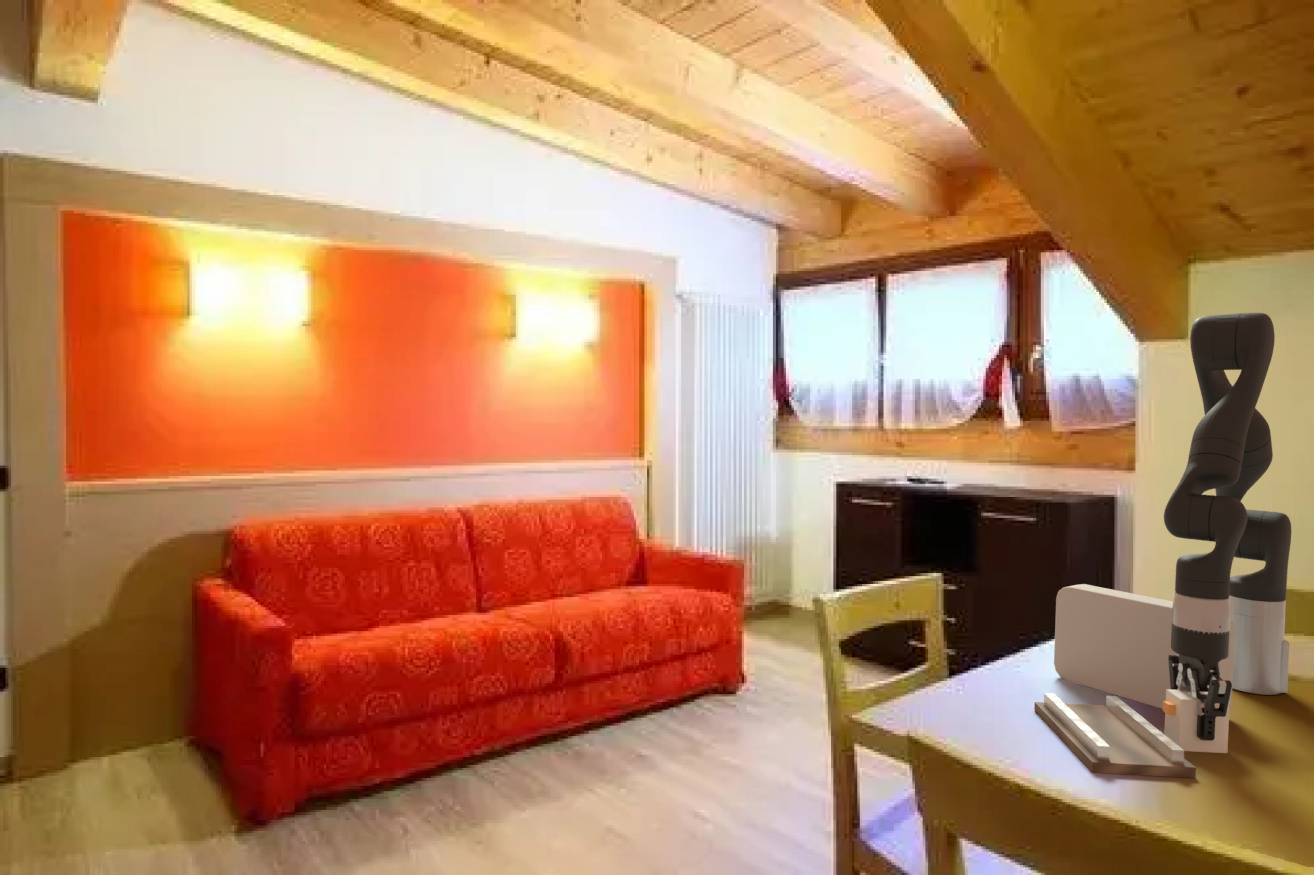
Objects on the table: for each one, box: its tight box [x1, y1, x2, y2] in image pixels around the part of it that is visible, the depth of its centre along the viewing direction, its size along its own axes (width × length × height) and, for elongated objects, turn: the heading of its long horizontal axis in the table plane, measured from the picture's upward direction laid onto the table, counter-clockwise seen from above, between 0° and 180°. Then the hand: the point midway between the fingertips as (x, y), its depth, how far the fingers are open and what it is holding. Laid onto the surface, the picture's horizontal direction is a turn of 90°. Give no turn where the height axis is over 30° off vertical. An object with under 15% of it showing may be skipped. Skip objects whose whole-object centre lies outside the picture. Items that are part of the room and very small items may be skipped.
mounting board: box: [1033, 701, 1197, 779], centre depth 132 cm, size 14×24×2 cm, turn 174°
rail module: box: [1162, 689, 1231, 754], centre depth 130 cm, size 8×4×8 cm, turn 84°
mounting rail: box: [1043, 692, 1185, 764], centre depth 132 cm, size 12×22×2 cm, turn 174°
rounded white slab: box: [1053, 583, 1235, 710], centre depth 152 cm, size 29×8×18 cm, turn 33°
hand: (1195, 731), depth 130 cm, fingers open, 5 cm apart
